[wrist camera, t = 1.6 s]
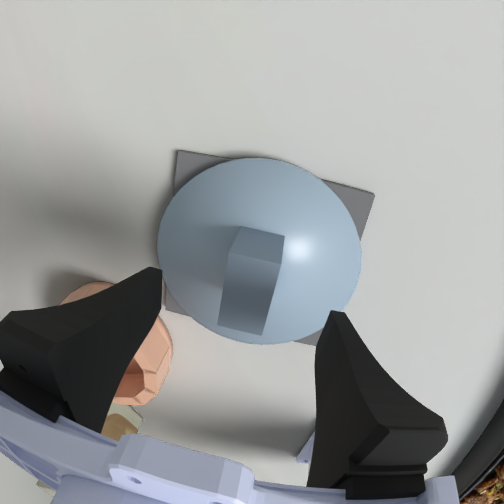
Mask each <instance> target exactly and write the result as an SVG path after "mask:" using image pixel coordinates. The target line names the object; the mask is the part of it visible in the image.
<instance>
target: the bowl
mask: <svg viewBox="0 0 504 504" xmlns="http://www.w3.org/2000/svg"><path fill="white" fill-rule="evenodd" d="M113 285H114V284H111V283H106V282H91V283H87V284H85V285H83V286H81V287H80V288H79V289H78V290H76V291H73V292H71V293H70V294H69V295H68V296H67V297H66V298H65V299H64V300H63V301H62V302H61V303H60V304H59V305H62V304H65V303H69V302H73V301H76V300H79V299H82V298H85V297H88V296H91V295H93V294H96V293H98V292H100V291H102V290H104V289H107V288H109V287H111V286H113ZM172 355H173V344H172V340H171V337H170V334H169V331H168V330H167V328H166V326H165V324H164V323H163V321H162V319H161V318H160V317H159V316H158V317H157V319H156V321H155V323H154V325H153V327H152V329H151V330H150V332H149V334H148V335H147V337H146V338H145V340H144V341H143V343H142V345H141V346H140V348H139V349H138V351H137V352H136V354H135V356H134V357H133V359H132V360H131V362H130V364H129V366H128V367H127V369H126V371H125V373H124V376H123V378H122V380H121V382H120V384H119V387H118V389H117V391H116V394H115V396H114V399H113V401H112V402H114V403H117V404H119V405H144V404H146V403H147V402H148V401H150V400H151V399H152V398H154V397H155V396H156V395H158V393H159V390H160V388H161V386H162V384H163V382H164V380H165V377H166V375H167V373H168V371H169V363H170V361H171V358H172Z"/></svg>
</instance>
